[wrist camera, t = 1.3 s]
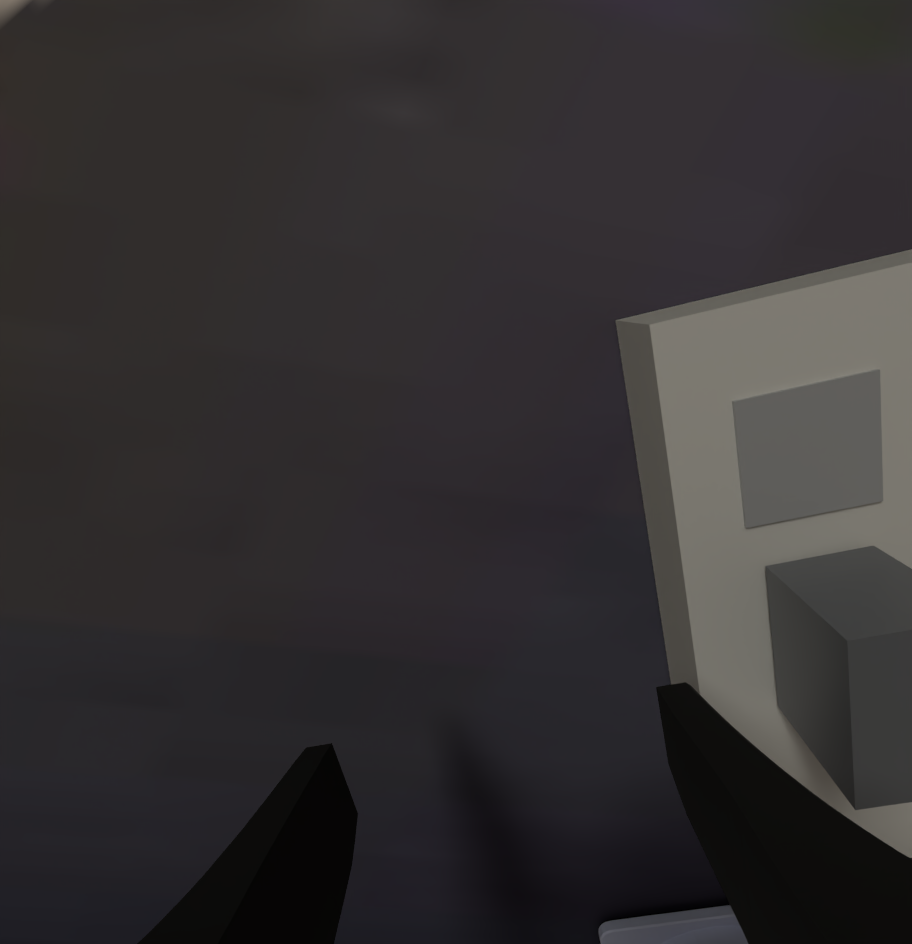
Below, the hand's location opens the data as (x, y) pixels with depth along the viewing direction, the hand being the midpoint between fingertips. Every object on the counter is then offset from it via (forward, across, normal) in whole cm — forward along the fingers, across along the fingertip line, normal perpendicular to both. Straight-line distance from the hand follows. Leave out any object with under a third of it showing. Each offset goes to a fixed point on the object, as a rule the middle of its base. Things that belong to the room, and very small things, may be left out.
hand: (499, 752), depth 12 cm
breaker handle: (+2, -8, 0) cm, 8 cm away
